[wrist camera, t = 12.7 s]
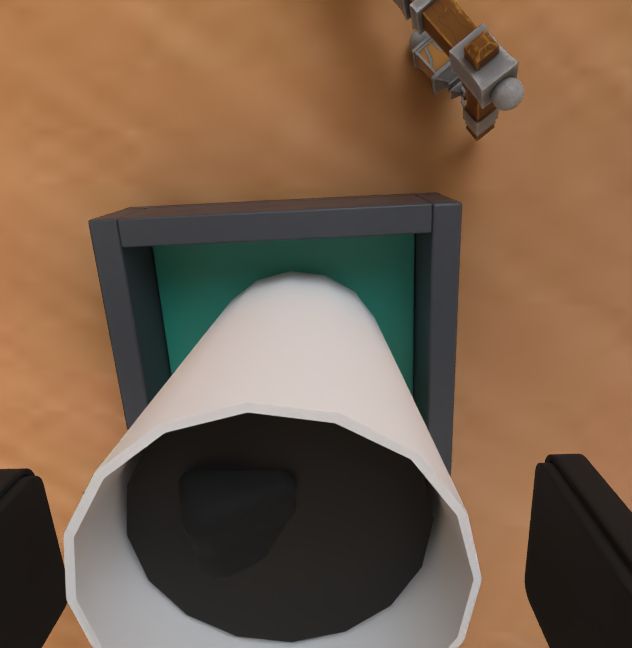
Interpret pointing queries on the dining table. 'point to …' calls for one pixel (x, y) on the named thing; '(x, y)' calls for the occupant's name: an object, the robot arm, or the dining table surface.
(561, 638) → the robot arm
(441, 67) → the wooden post with brackets
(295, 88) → the dining table surface
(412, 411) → the coffee cup
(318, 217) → the grey divided tray
